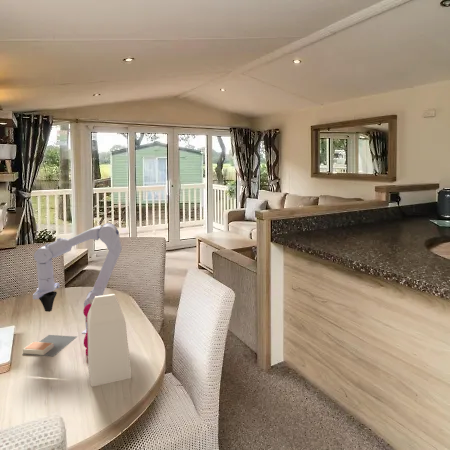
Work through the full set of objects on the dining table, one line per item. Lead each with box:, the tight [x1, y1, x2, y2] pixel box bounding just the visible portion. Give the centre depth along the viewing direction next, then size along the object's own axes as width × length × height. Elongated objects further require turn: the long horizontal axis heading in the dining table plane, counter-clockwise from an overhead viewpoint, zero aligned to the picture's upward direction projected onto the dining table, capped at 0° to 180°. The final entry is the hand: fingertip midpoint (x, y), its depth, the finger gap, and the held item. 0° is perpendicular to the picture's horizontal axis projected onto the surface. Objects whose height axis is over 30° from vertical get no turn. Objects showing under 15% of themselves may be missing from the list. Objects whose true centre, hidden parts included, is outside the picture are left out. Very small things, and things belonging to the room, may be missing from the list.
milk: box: [87, 293, 132, 388], centre depth 122 cm, size 12×12×26 cm
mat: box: [22, 334, 77, 357], centre depth 143 cm, size 12×16×1 cm
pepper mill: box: [82, 299, 93, 357], centre depth 136 cm, size 7×7×20 cm
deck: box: [22, 341, 54, 355], centre depth 139 cm, size 8×2×6 cm
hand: (48, 310), depth 151 cm, fingers closed
